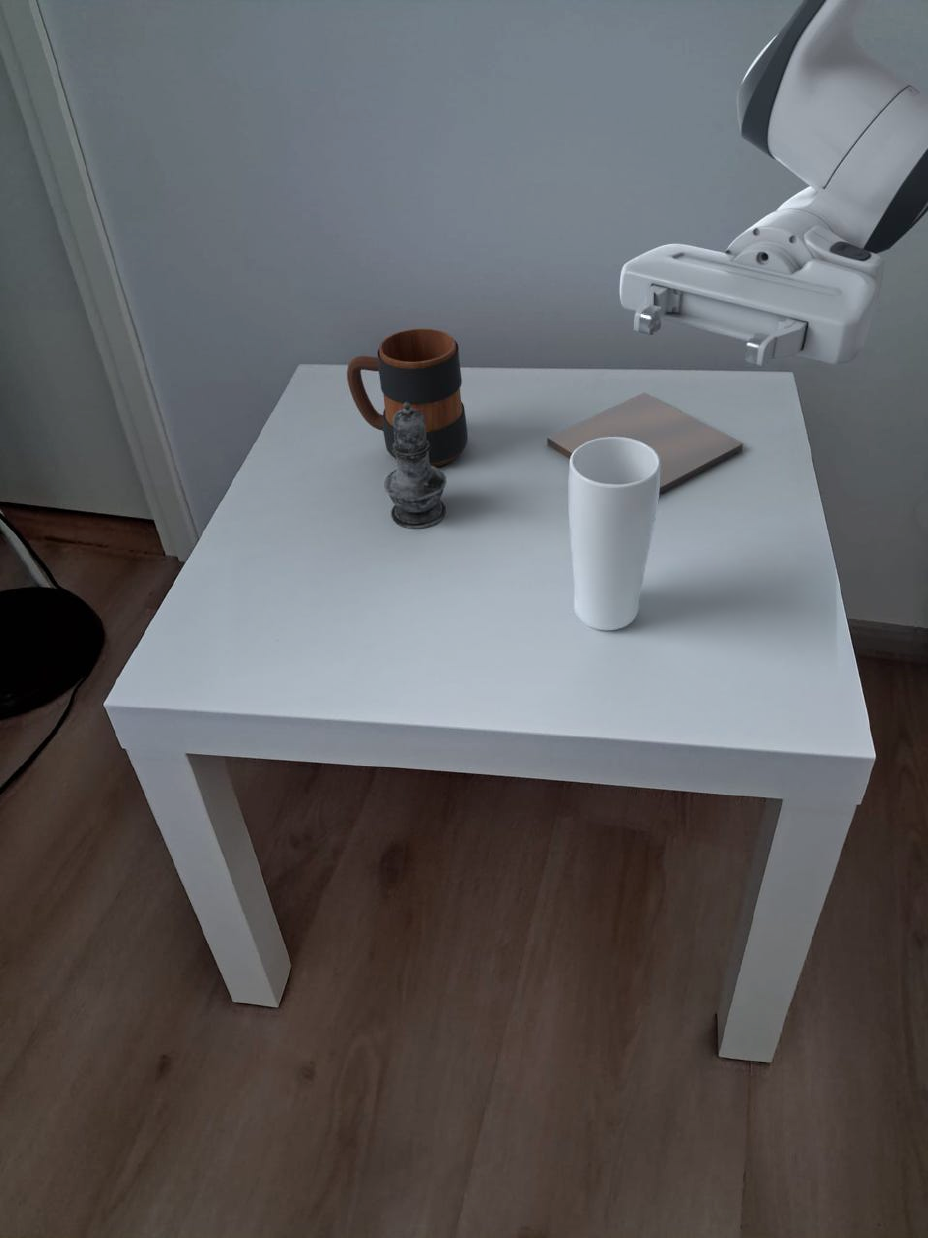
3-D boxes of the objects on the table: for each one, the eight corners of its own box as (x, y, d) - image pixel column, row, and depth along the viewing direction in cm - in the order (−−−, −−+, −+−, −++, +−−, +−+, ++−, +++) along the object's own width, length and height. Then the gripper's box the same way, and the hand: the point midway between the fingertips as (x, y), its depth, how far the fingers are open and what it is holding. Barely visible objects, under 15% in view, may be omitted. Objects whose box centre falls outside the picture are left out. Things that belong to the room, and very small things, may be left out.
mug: (369, 422, 103) (355, 321, 95) (475, 429, 101) (470, 326, 93) (345, 465, 97) (327, 362, 89) (457, 474, 95) (450, 368, 87)
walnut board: (742, 450, 95) (743, 443, 94) (642, 504, 89) (642, 497, 89) (643, 398, 104) (644, 391, 103) (546, 444, 98) (546, 437, 97)
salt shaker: (384, 499, 92) (369, 390, 84) (443, 490, 93) (434, 381, 85) (392, 535, 88) (377, 423, 80) (453, 525, 88) (444, 413, 80)
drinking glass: (651, 591, 80) (667, 440, 70) (640, 645, 75) (656, 491, 65) (573, 580, 82) (577, 431, 71) (558, 633, 77) (560, 481, 67)
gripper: (669, 213, 82) (582, 269, 74) (906, 261, 72) (833, 332, 64) (663, 283, 86) (579, 343, 78) (885, 338, 76) (815, 413, 68)
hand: (696, 339), depth 71 cm, fingers open, 8 cm apart
